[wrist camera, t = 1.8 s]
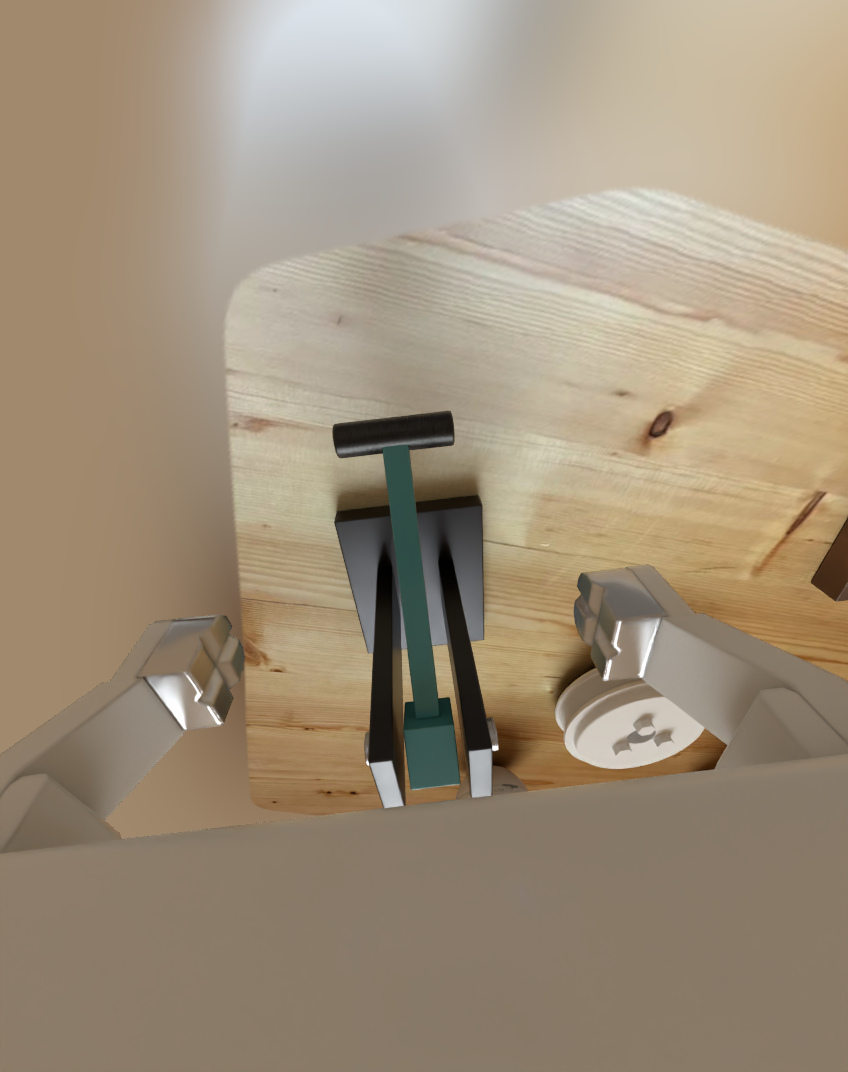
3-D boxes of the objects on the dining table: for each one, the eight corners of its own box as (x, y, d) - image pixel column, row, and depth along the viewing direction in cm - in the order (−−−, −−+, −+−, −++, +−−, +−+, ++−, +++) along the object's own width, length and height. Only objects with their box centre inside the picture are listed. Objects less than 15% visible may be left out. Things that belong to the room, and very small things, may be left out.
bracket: (336, 511, 25) (290, 713, 14) (478, 494, 25) (550, 682, 14) (368, 640, 32) (356, 849, 20) (481, 627, 32) (531, 828, 20)
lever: (339, 429, 18) (327, 419, 16) (448, 416, 18) (453, 404, 16) (383, 758, 20) (378, 794, 18) (483, 746, 20) (492, 780, 18)
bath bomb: (532, 751, 43) (558, 839, 36) (509, 788, 47) (528, 873, 41) (460, 748, 42) (473, 839, 35) (443, 786, 46) (452, 873, 39)
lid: (530, 724, 40) (546, 776, 36) (590, 637, 33) (618, 690, 29) (639, 734, 43) (666, 784, 38) (715, 655, 36) (757, 706, 32)
